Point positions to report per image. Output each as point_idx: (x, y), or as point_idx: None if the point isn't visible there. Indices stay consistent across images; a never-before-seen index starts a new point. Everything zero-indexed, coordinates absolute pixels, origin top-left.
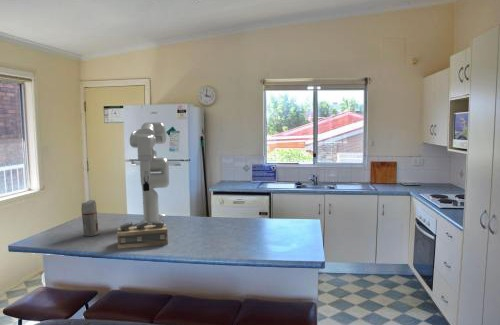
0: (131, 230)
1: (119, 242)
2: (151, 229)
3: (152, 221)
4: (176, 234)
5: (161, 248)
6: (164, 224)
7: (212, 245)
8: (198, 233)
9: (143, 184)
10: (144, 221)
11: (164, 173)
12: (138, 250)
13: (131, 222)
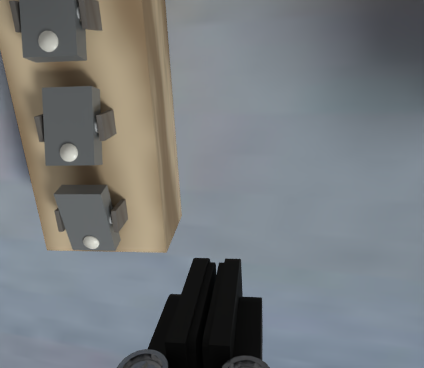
0: None
1: None
2: (50, 173)
3: (77, 195)
4: None
5: (27, 186)
6: (148, 245)
7: (46, 352)
8: None
9: (167, 338)
10: (93, 145)
11: None
12: (6, 88)
13: (58, 53)
